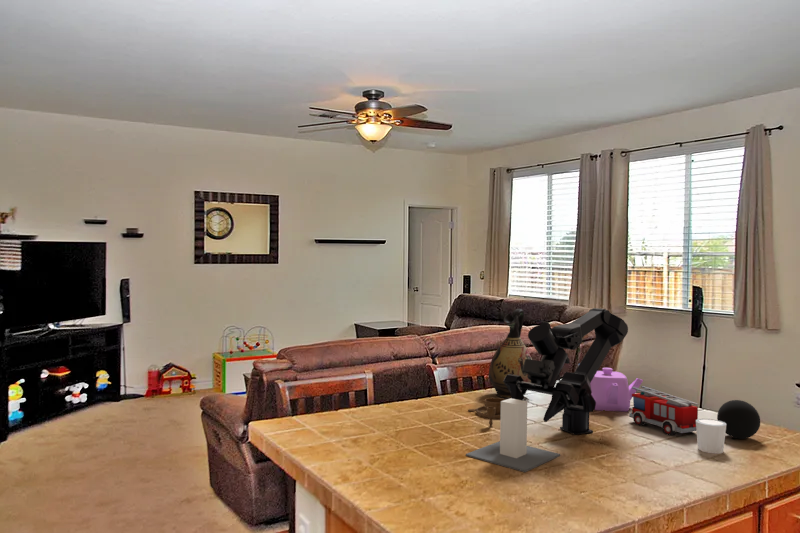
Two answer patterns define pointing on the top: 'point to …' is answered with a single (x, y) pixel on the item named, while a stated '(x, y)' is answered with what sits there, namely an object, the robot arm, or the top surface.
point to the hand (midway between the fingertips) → (527, 417)
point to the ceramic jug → (509, 355)
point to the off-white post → (513, 428)
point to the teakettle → (612, 390)
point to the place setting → (490, 409)
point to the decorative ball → (739, 419)
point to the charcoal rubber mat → (520, 463)
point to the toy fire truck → (664, 411)
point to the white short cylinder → (710, 435)
